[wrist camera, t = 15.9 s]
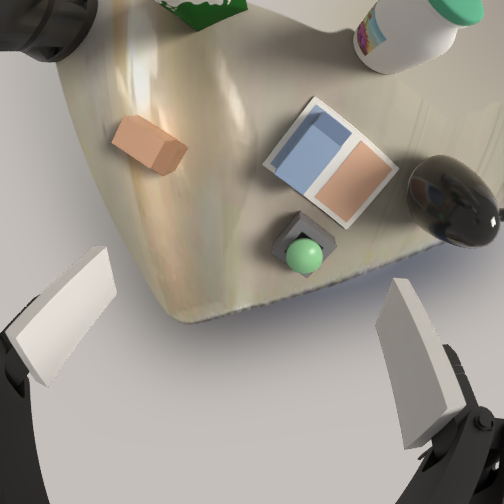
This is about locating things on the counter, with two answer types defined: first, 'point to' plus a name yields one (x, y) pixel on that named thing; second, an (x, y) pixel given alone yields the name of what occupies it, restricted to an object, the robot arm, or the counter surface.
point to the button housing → (303, 229)
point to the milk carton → (203, 10)
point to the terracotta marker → (149, 144)
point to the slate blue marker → (312, 152)
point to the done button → (304, 255)
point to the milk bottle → (411, 31)
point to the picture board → (340, 168)
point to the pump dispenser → (453, 203)
